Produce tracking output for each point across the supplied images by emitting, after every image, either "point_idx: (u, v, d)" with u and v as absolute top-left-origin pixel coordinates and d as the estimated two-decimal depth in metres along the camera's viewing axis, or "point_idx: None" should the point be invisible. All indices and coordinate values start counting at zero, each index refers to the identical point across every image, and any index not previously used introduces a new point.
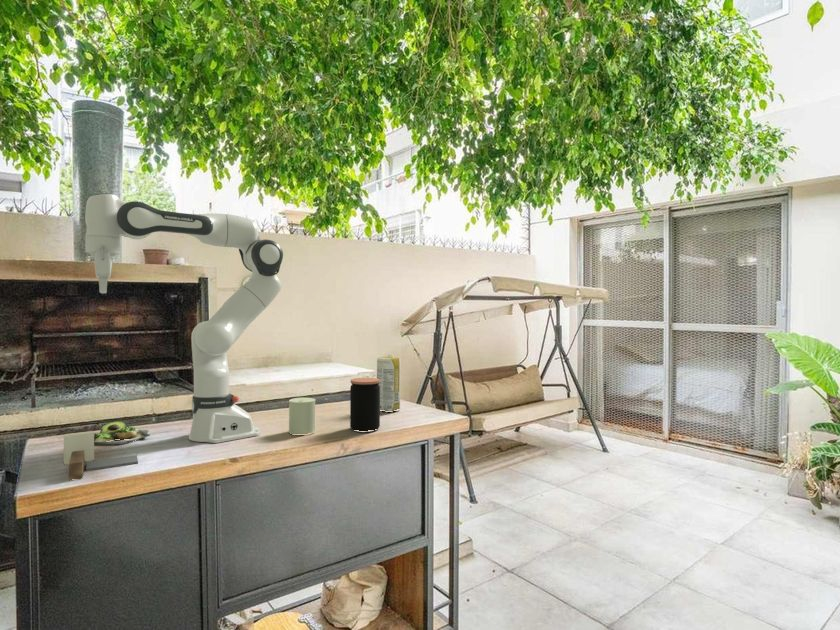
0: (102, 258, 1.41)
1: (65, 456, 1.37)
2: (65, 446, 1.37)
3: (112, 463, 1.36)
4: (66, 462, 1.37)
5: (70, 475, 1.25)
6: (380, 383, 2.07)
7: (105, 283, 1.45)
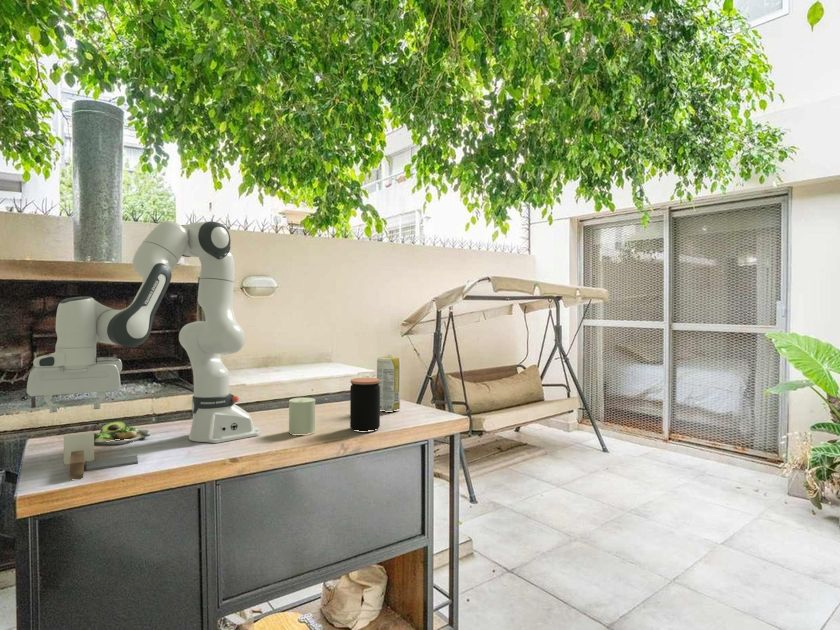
0: (120, 371, 1.35)
1: (65, 456, 1.37)
2: (65, 446, 1.37)
3: (112, 463, 1.36)
4: (66, 462, 1.37)
5: (71, 475, 1.25)
6: (380, 383, 2.07)
7: None
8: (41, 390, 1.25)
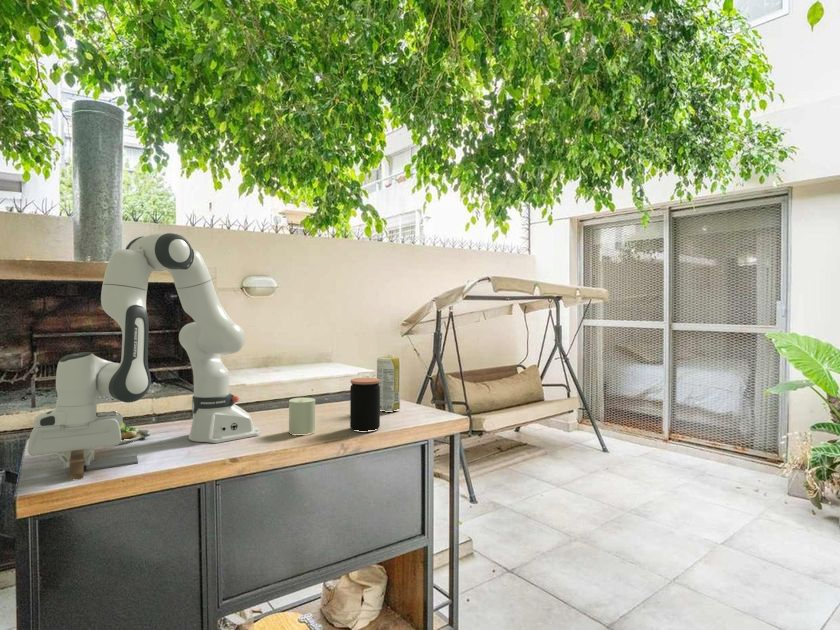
0: (120, 425, 1.35)
1: (65, 456, 1.37)
2: None
3: (112, 463, 1.36)
4: None
5: (71, 474, 1.25)
6: (380, 383, 2.07)
7: None
8: (42, 449, 1.25)
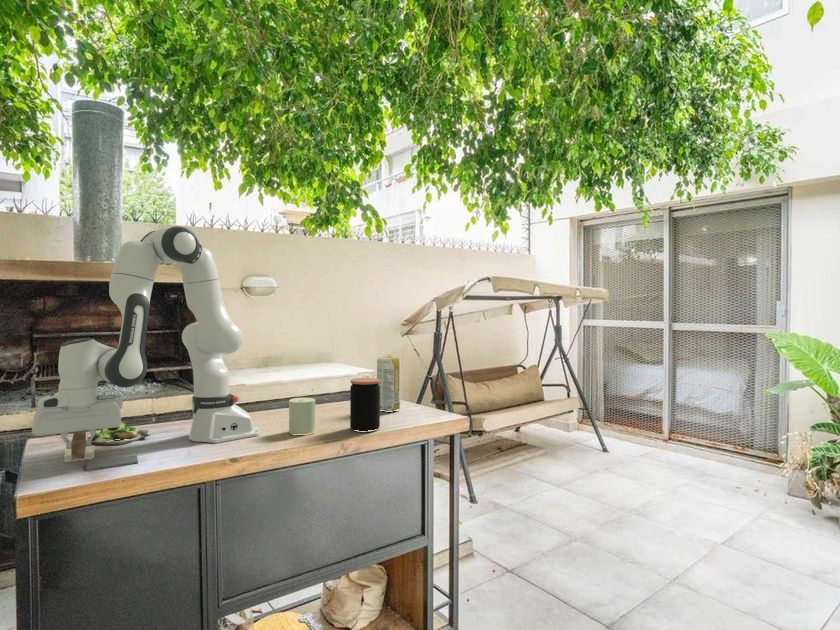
0: (120, 408, 1.41)
1: (66, 453, 1.41)
2: (67, 451, 1.43)
3: (112, 463, 1.36)
4: (67, 455, 1.39)
5: (73, 454, 1.31)
6: (380, 383, 2.07)
7: None
8: (46, 429, 1.31)
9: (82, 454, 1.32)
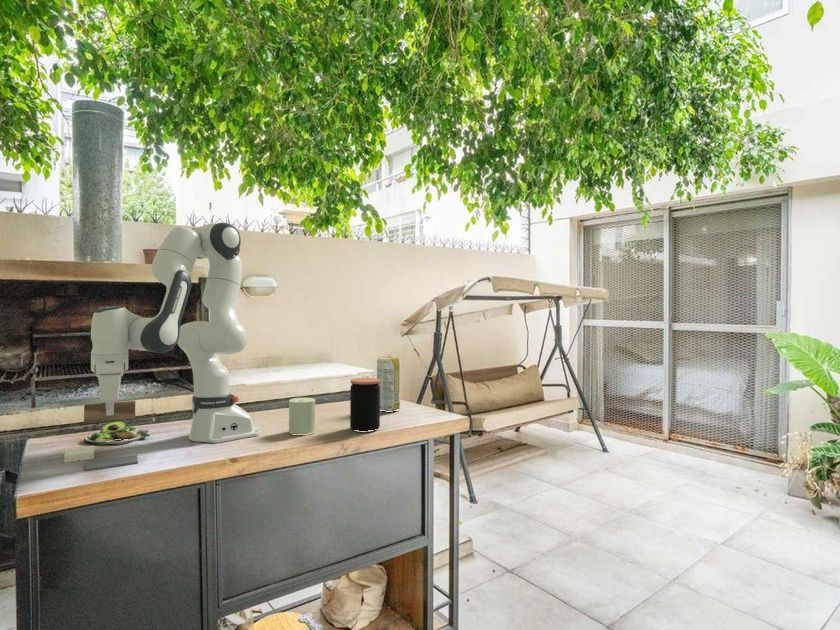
0: None
1: (66, 453, 1.41)
2: (66, 451, 1.43)
3: (112, 463, 1.36)
4: (67, 455, 1.39)
5: None
6: (380, 383, 2.07)
7: None
8: None
9: None
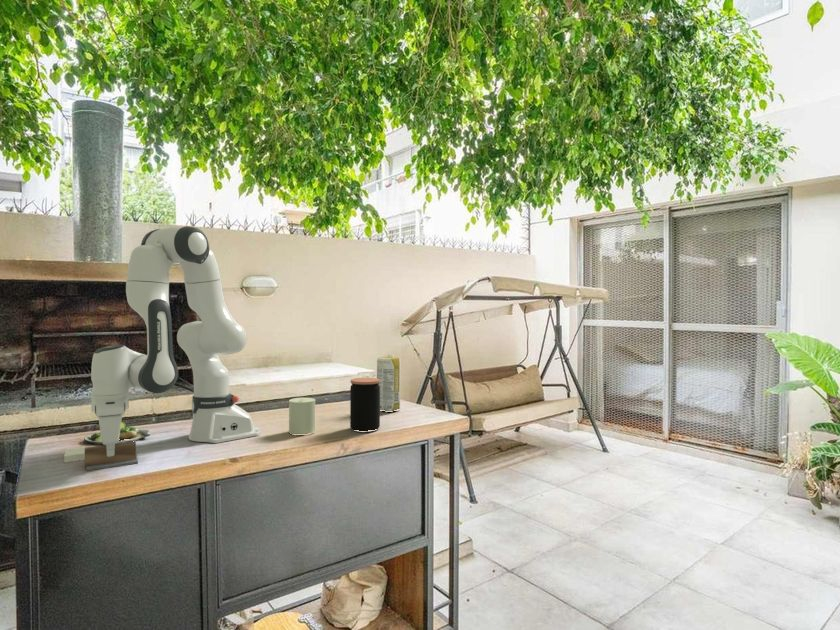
0: None
1: (66, 453, 1.41)
2: (66, 451, 1.43)
3: (112, 463, 1.36)
4: (66, 455, 1.39)
5: (135, 454, 1.40)
6: (380, 383, 2.07)
7: None
8: None
9: None
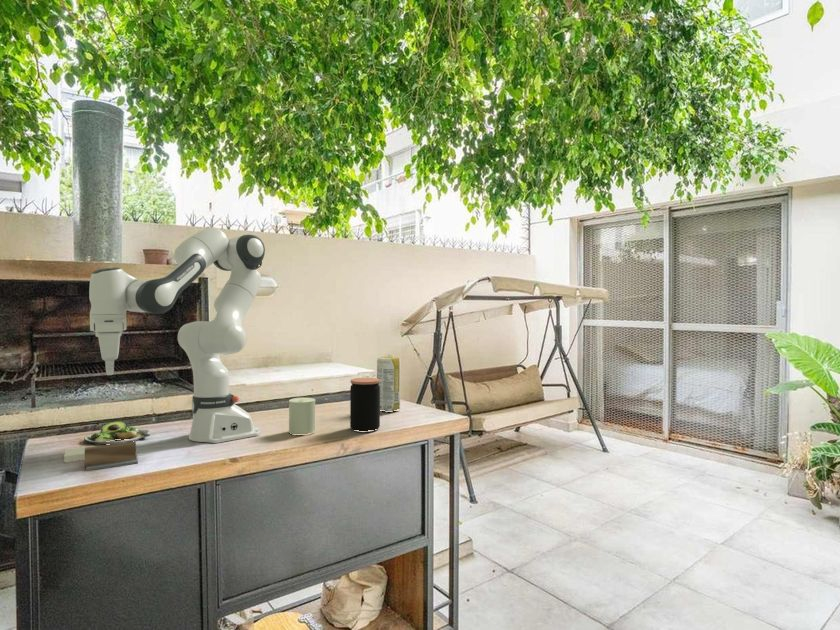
0: None
1: (66, 453, 1.41)
2: (66, 451, 1.43)
3: (112, 463, 1.36)
4: (66, 455, 1.39)
5: (135, 454, 1.40)
6: (380, 383, 2.07)
7: None
8: None
9: None
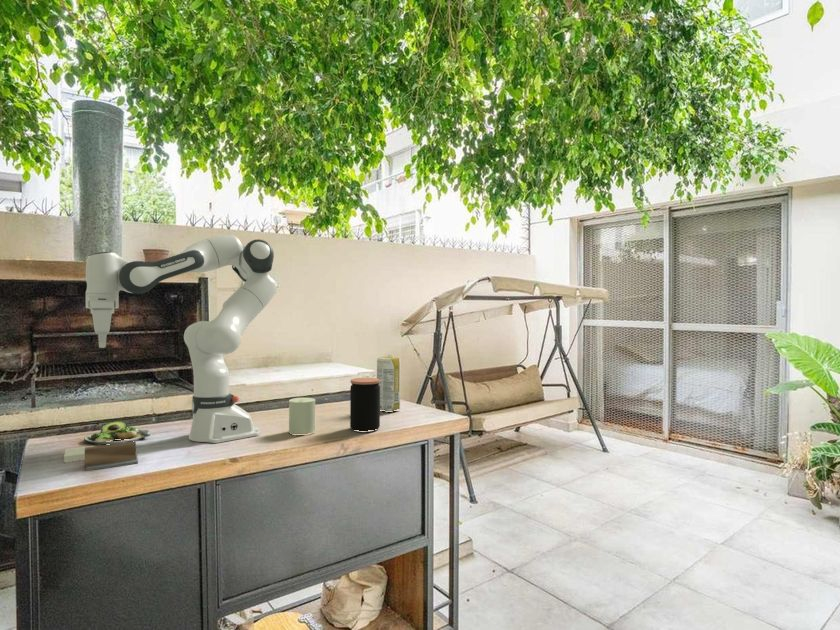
0: None
1: (66, 453, 1.41)
2: (66, 451, 1.43)
3: (112, 463, 1.36)
4: (66, 455, 1.39)
5: (135, 454, 1.40)
6: (380, 383, 2.07)
7: None
8: None
9: None
